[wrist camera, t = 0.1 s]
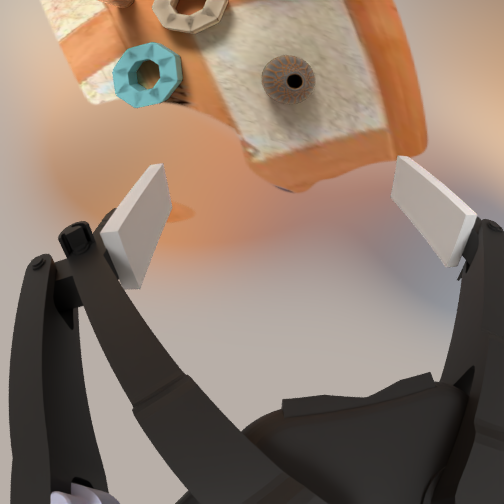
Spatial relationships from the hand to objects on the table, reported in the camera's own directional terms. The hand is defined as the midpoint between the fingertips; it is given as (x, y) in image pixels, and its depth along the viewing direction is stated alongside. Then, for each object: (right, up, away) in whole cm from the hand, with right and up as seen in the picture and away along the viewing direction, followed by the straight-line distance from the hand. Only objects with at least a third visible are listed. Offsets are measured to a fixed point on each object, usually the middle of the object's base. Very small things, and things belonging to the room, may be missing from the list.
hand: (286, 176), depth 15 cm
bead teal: (-16, +22, +18) cm, 33 cm away
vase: (+3, +21, +20) cm, 29 cm away
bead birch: (-10, +30, +12) cm, 34 cm away
